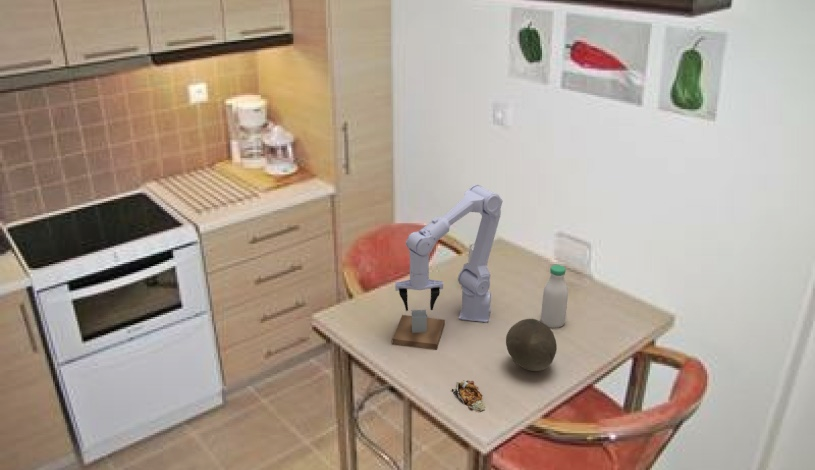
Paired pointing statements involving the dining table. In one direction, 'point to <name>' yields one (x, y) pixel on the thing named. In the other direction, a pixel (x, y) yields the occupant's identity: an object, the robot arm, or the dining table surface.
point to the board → (420, 340)
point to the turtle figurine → (470, 395)
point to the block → (419, 321)
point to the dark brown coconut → (531, 344)
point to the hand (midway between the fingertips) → (419, 308)
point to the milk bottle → (555, 298)
